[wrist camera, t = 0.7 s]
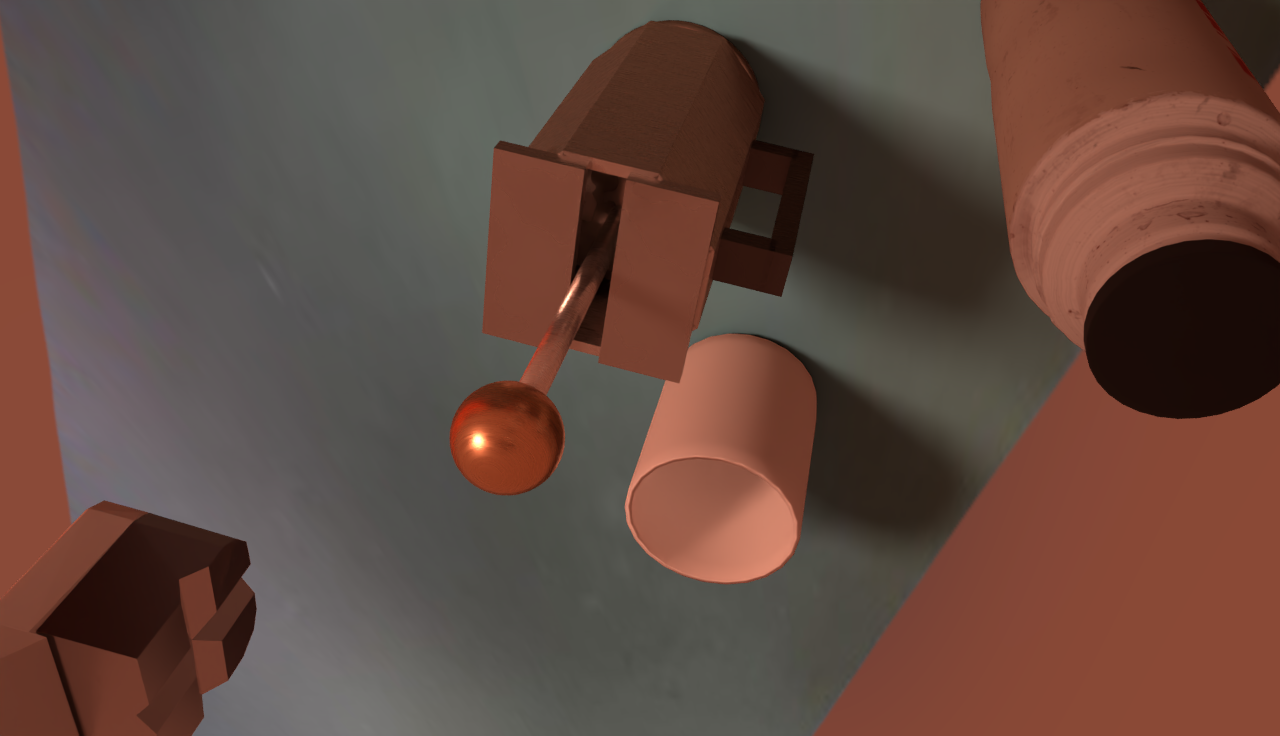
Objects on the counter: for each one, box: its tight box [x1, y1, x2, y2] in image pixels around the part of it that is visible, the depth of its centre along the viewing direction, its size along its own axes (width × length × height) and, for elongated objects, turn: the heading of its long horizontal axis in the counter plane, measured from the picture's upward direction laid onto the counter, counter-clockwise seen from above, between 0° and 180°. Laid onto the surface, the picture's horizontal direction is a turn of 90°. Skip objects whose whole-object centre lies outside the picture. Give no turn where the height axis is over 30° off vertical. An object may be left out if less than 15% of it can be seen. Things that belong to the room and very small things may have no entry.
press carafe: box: [482, 20, 814, 383], centre depth 47 cm, size 9×12×17 cm
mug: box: [625, 334, 817, 584], centre depth 60 cm, size 10×12×12 cm
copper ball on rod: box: [450, 169, 627, 495], centre depth 38 cm, size 7×7×18 cm
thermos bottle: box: [981, 0, 1280, 419], centre depth 36 cm, size 8×8×28 cm
